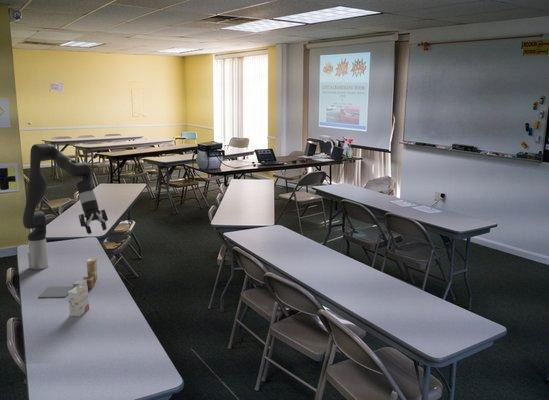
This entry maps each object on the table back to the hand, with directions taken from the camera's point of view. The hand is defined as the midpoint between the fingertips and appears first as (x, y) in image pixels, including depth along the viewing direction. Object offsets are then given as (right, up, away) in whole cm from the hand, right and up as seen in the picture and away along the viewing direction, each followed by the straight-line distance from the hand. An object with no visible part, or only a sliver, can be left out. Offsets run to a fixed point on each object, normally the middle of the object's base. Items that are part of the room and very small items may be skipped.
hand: (97, 232), depth 241 cm
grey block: (-10, -31, +3) cm, 33 cm away
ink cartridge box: (-2, -36, -19) cm, 41 cm away
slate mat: (-22, -31, +3) cm, 38 cm away
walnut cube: (-9, -30, +10) cm, 33 cm away
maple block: (-10, -28, +19) cm, 35 cm away
